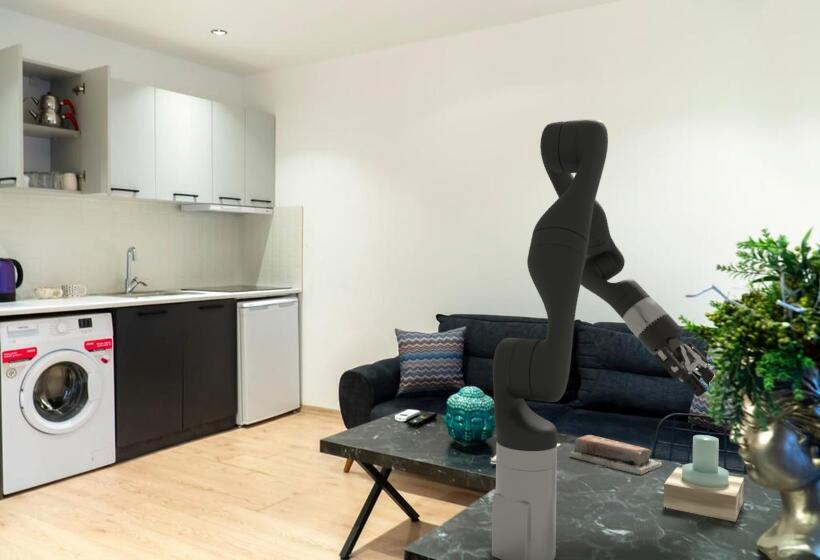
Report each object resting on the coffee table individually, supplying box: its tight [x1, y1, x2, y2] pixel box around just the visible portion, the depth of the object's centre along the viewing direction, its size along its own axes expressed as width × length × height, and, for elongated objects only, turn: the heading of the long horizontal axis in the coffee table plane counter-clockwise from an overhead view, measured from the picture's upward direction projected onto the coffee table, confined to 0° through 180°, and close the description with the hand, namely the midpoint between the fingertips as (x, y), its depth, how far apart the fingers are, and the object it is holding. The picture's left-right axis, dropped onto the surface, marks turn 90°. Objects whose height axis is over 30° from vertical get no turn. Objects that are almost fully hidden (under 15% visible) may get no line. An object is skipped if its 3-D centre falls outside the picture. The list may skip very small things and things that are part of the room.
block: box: [663, 466, 745, 522], centre depth 123 cm, size 12×12×5 cm
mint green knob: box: [681, 434, 730, 488], centre depth 123 cm, size 8×8×8 cm
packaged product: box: [569, 434, 663, 476], centre depth 149 cm, size 18×5×10 cm
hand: (711, 390), depth 122 cm, fingers open, 8 cm apart
